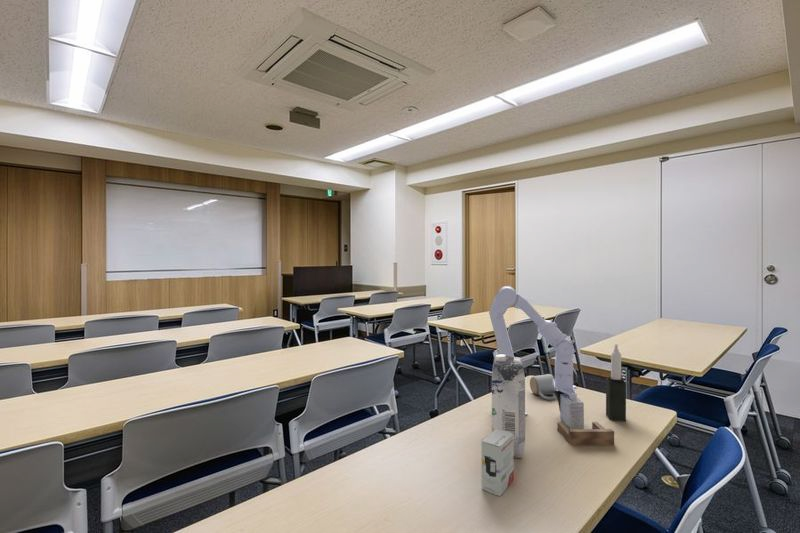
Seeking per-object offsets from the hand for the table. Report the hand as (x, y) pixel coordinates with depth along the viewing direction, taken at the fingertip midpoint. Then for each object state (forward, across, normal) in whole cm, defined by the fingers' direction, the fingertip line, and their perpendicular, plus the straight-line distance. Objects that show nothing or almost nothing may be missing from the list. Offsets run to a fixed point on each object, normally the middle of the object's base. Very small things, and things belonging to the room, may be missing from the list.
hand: (563, 412), depth 127 cm
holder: (+1, -14, 0) cm, 14 cm away
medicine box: (+1, -6, 0) cm, 6 cm away
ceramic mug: (+2, +19, -1) cm, 19 cm away
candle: (+2, -2, -17) cm, 17 cm away
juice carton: (+1, -21, +25) cm, 33 cm away
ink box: (+1, -37, +32) cm, 49 cm away
